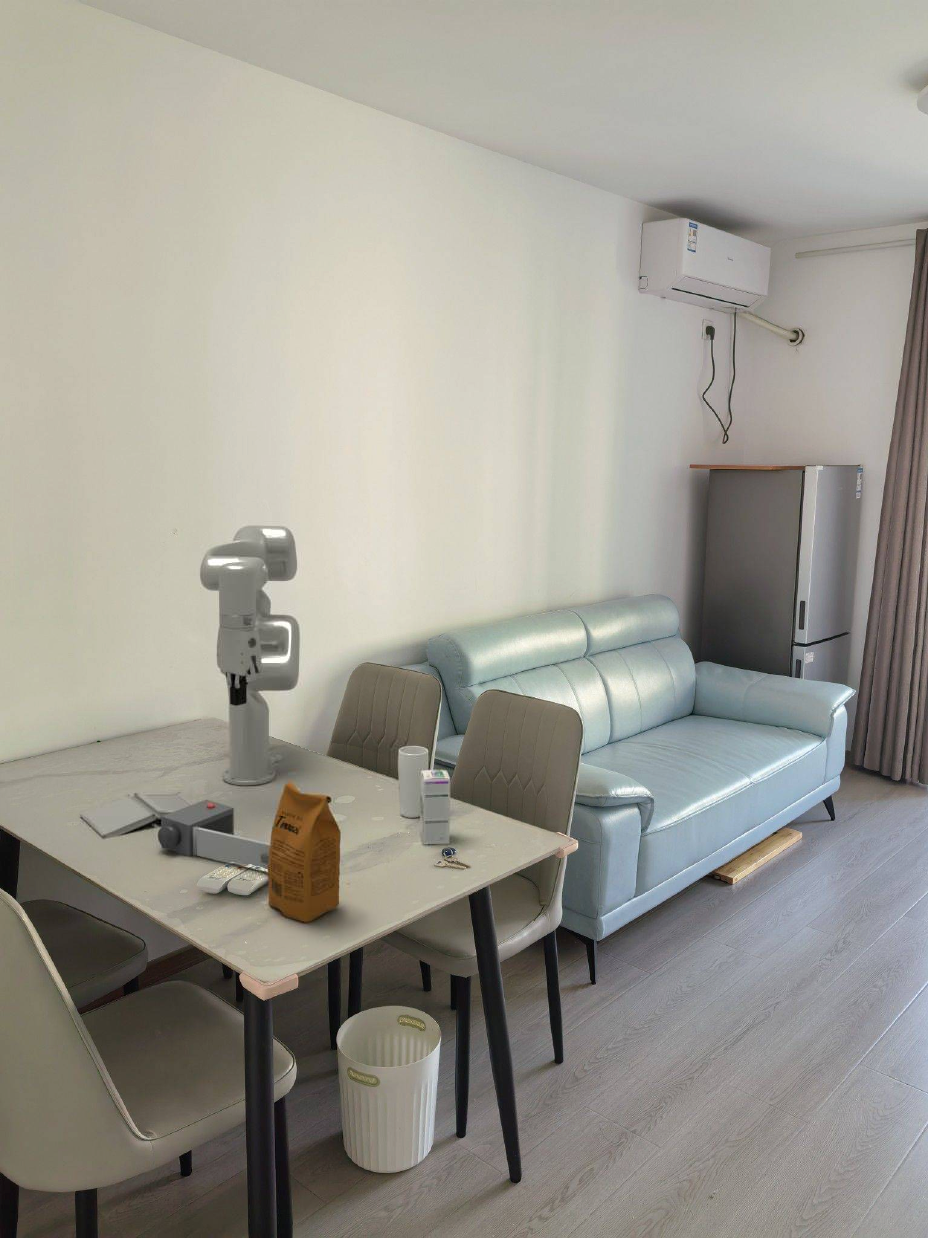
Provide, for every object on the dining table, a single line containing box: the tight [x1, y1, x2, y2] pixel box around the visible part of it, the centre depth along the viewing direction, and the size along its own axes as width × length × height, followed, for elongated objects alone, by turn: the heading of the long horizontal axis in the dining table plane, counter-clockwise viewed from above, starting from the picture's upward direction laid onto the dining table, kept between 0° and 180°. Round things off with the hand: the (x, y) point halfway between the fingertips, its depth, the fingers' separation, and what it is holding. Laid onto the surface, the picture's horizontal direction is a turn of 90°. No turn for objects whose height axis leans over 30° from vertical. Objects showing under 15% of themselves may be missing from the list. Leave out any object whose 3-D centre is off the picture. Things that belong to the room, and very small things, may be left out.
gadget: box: [79, 791, 197, 839], centre depth 208 cm, size 23×15×4 cm, turn 129°
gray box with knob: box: [157, 799, 235, 857], centre depth 194 cm, size 14×8×7 cm, turn 148°
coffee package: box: [267, 780, 342, 923], centre depth 167 cm, size 10×12×22 cm
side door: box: [192, 827, 271, 869], centre depth 184 cm, size 20×2×6 cm, turn 67°
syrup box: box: [419, 769, 451, 846], centre depth 200 cm, size 6×6×14 cm
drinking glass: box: [397, 745, 429, 819], centre depth 214 cm, size 7×7×15 cm
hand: (238, 703), depth 206 cm, fingers closed
